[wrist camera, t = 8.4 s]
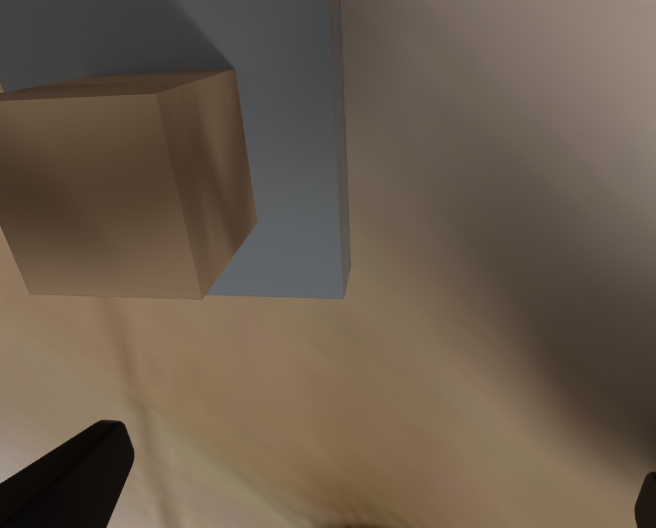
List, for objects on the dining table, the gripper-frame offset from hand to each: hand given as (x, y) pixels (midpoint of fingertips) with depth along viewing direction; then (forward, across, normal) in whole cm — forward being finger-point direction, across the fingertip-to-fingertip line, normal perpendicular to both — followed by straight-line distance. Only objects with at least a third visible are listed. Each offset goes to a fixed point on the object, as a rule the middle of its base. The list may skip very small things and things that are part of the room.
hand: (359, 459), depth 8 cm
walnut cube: (+9, +7, -3) cm, 12 cm away
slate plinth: (+11, +7, -3) cm, 14 cm away
